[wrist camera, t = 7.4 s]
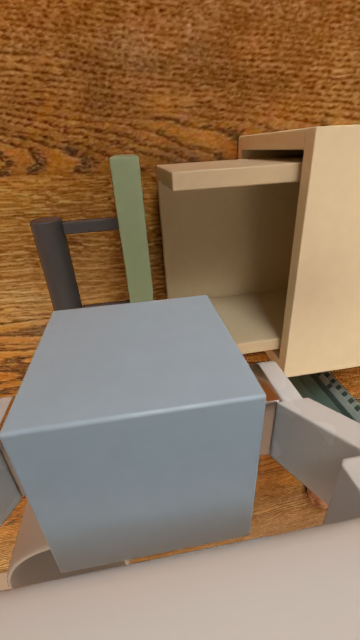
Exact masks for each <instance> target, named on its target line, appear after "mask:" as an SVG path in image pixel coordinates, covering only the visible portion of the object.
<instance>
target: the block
mask: <svg viewBox="0 0 360 640" xmlns="http://www.w3.org/2000/svg"><path fill="white" fill-rule="evenodd" d="M265 405H266V394H265V392H264V390H263V389H262V387H261V385H260V384H259V382H258V380H257V379H256V377H255V375H254V374H253V372H252V370H251V368H250V367H249V365H248V363H247V362H246V360H245V358H244V357H243V355H242V353H241V352H240V350H239V348H238V346H237V345H236V343H235V341H234V340H233V338H232V336H231V335H230V333H229V331H228V330H227V328H226V326H225V324H224V323H223V321H222V319H221V318H220V316H219V314H218V313H217V311H216V309H215V308H214V306H213V304H212V302H211V301H210V299H209V297H208V296H207V295H202V296H192V297H183V298H173V299H164V300H154V301H145V302H135V303H126V304H116V305H107V306H97V307H88V308H78V309H69V310H59V311H54V312H52V315H51V317H50V319H49V321H48V324H47V326H46V328H45V331H44V333H43V335H42V337H41V340H40V342H39V344H38V346H37V349H36V351H35V353H34V356H33V358H32V360H31V362H30V365H29V367H28V369H27V372H26V374H25V376H24V378H23V381H22V383H21V385H20V388H19V390H18V392H17V394H16V397H15V399H14V401H13V403H12V406H11V408H10V410H9V413H8V415H7V417H6V419H5V422H4V424H3V426H2V429H1V431H0V440H1V442H2V444H3V446H4V449H5V451H6V453H7V455H8V457H9V460H10V462H11V464H12V466H13V468H14V471H15V473H16V475H17V477H18V479H19V482H20V484H21V486H22V488H23V490H24V493H25V495H26V497H27V499H28V501H29V504H30V506H31V508H32V510H33V512H34V515H35V517H36V519H37V521H38V523H39V526H40V528H41V530H42V532H43V534H44V537H45V539H46V541H47V543H48V545H49V548H50V550H51V552H52V554H53V556H54V559H55V561H56V563H57V565H58V567H59V570H60V572H62V573H66V572H70V571H75V570H80V569H85V568H90V567H95V566H100V565H105V564H110V563H115V562H120V561H125V560H130V559H134V558H139V557H144V556H149V555H154V554H159V553H164V552H169V551H174V550H179V549H184V548H189V547H194V546H198V545H203V544H208V543H213V542H218V541H223V540H228V539H233V538H238V537H243V536H248V535H249V534H250V531H251V523H252V514H253V506H254V497H255V489H256V480H257V472H258V464H259V455H260V447H261V438H262V430H263V421H264V413H265Z"/></svg>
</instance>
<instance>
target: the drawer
mask: <svg viewBox="0 0 360 640" xmlns="http://www.w3.org/2000/svg"><path fill="white" fill-rule="evenodd" d="M109 163H110V170H111V177H112V184H113V190H114V197H115V204H116V211H117V216H116V217H105V218H93V219H82V220H70V221H64V222H63V221H62V218H61V217H44V218H38V219H34V220H32V221H30V226H31V230H32V233H33V237H34V240H35V244H36V247H37V251H38V254H39V258H40V262H41V265H42V269H43V272H44V276H45V279H46V283H47V286H48V290H49V294H50V297H51V301H52V304H53V308H54V311H59V310H69V309H78V308H88V307H97V306H107V305H116V304H126V303H135V302H145V301H154V295H153V286H152V276H151V267H150V257H149V248H148V238H147V229H146V219H145V210H144V201H143V191H142V182H141V172H140V163H139V156H137V155H134V154H121V155H114V156H112V157H110V158H109ZM302 163H303V155H293V156H279V157H265V158H250V159H236V160H222V161H207V162H193V163H179V164H164V165H156V175H157V187H158V199H159V211H160V223H161V235H162V247H163V259H164V271H165V283H166V295H167V299H173V298H183V297H192V296H202V295H207V296H208V297H209V299H210V301H211V302H212V304H213V306H214V308H215V309H216V311H217V313H218V314H219V316H220V318H221V319H222V321H223V323H224V324H225V326H226V328H227V330H228V331H229V333H230V335H231V336H232V338H233V340H234V341H235V343H236V345H237V346H238V348H239V350H240V352H241V353H242V354H247V353H254V352H261V351H268V350H275V349H280V348H281V339H282V331H283V323H284V314H285V306H286V297H287V289H288V281H289V272H290V264H291V256H292V247H293V239H294V230H295V222H296V214H297V205H298V197H299V188H300V180H301V172H302ZM108 230H119V231H120V238H121V245H122V251H123V258H124V265H125V272H126V279H127V285H128V292H129V299H130V300H124V301H116V302H107V303H99V304H90V305H83V307H82V303H81V299H80V294H79V290H78V286H77V281H76V277H75V273H74V268H73V264H72V260H71V255H70V251H69V247H68V242H67V238H66V234H75V233H86V232H97V231H108Z"/></svg>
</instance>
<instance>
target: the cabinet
mask: <svg viewBox="0 0 360 640" xmlns="http://www.w3.org/2000/svg"><path fill="white" fill-rule="evenodd" d="M293 155H303V163H302V172H301V180H300V188H299V197H298V205H297V214H296V222H295V230H294V239H293V247H292V256H291V264H290V272H289V281H288V289H287V297H286V306H285V314H284V323H283V331H282V339H281V348H280V349H275V350H268V351H265V352H266V354H267V355H268V357H269V358H270V360H271V361H275V362H276V363H277V364H278V366H279V367H280V368H281V370H282V371H283V372H284V374H285V375H286V376H287V377H293V376H300V375H306V374H313V373H319V372H326V371H332V370H339V369H345V368H352V367H358V366H360V124H353V125H336V126H319V127H310V128H302V129H294V130H286V131H278V132H270V133H262V134H254V135H246V136H240V137H239V140H238V159H250V158H265V157H279V156H293Z"/></svg>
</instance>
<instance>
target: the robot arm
mask: <svg viewBox="0 0 360 640" xmlns="http://www.w3.org/2000/svg"><path fill="white" fill-rule="evenodd" d="M249 367H250V368H251V370H252V372H253V374H254V375H255V377H256V379H257V380H258V382H259V384H260V385H261V387H262V389H263V390H264V392H265V394H266V405H265V413H264V421H263V430H262V438H261V447H260V455H267V454H270V456H271V457H272V458H273V459H274V460H275V461H277V462H278V463H279V464H280V465H281V466H283V467H284V468H285V469H286V470H287V471H288V472H290V473H291V474H292V475H293V476H294V477H296V478H297V479H298V480H299V481H300V482H301V483H303V484H304V485H305V486H306V487H307V488H308V489H310V490H311V491H312V492H313V493H314V494H316V495H317V496H318V497H319V498H320V499H321V500H323V501H324V502H325V503H326V504H327V505H328V509H327V512H326V515H325V518H324V521H323V525H319V526H314V527H309V528H304V529H299V530H294V531H289V532H285V533H280V534H275V535H270V536H265V537H260V538H255V539H250V540H245V541H241V542H236V543H231V544H226V545H221V546H216V547H211V548H206V549H202V550H197V551H192V552H187V553H182V554H177V555H172V556H167V557H163V558H158V559H153V560H148V561H143V562H138V563H134V564H129V565H124V566H119V567H114V568H109V569H104V570H100V571H95V572H90V573H85V574H80V575H75V576H71V577H66V578H61V579H56V580H51V581H46V582H41V583H36V584H32V585H27V586H22V587H17V588H12V589H8V590H2V591H0V640H360V423H358V422H356V421H354V420H352V419H350V418H348V417H346V416H344V415H342V414H340V413H338V412H336V411H334V410H332V409H330V408H328V407H326V406H324V405H322V404H320V403H318V402H316V401H314V400H312V399H310V398H302V396H301V395H300V394H299V392H298V391H297V390H296V388H295V387H294V386H293V384H292V383H291V382H290V380H289V379H288V378H287V376H286V375H285V374H284V372H283V371H282V370H281V368H280V367H279V366H278V364H277V363H276V362H275V361H267V362H261V363H256V364H251V365H249ZM15 397H16V396H8V397H0V431H1V429H2V426H3V424H4V422H5V419H6V417H7V415H8V413H9V410H10V408H11V406H12V403H13V401H14V399H15ZM260 455H259V456H260ZM23 496H26V495H25V493H24V490H23V488H22V486H21V484H20V482H19V479H18V477H17V475H16V473H15V471H14V468H13V466H12V464H11V462H10V460H9V457H8V455H7V453H6V451H5V449H4V446H3V444H2V442H1V440H0V527H1V525H2V524H3V523H4V521H5V520H6V519H7V518H8V516H9V515H10V514H11V512H12V511H13V510H14V508H15V507H16V506H17V505H18V503H19V502H20V501H21V499H22V498H21V497H23Z"/></svg>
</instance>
